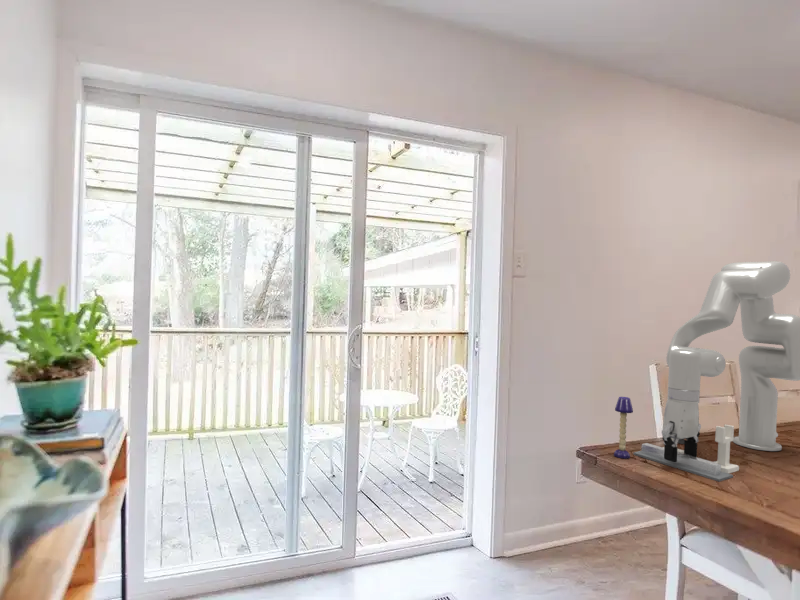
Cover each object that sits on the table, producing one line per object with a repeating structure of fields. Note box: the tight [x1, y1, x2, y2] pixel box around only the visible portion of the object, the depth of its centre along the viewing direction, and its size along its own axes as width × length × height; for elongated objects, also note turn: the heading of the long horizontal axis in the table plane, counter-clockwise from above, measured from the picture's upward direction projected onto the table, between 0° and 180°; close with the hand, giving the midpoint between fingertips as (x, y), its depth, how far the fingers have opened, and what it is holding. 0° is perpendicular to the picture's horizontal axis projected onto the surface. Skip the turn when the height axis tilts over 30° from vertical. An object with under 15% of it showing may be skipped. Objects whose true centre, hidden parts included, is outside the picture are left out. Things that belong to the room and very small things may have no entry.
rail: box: [640, 442, 721, 476], centre depth 135 cm, size 2×20×2 cm, turn 32°
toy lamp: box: [613, 396, 634, 459], centre depth 141 cm, size 5×5×17 cm
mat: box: [632, 450, 734, 482], centre depth 135 cm, size 7×23×1 cm, turn 32°
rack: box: [662, 424, 740, 474], centre depth 139 cm, size 6×19×12 cm, turn 32°
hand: (680, 458), depth 135 cm, fingers open, 9 cm apart
